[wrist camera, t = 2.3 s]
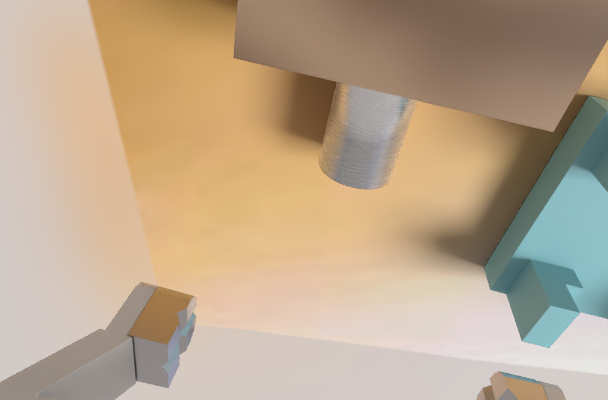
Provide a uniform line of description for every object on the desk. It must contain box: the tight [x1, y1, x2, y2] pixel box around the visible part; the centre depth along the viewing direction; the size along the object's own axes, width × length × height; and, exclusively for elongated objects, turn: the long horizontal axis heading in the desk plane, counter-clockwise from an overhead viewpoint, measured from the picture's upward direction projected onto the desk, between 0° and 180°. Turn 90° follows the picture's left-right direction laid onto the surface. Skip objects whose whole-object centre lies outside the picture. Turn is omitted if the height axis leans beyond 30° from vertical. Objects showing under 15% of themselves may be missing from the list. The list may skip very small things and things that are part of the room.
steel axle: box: [319, 82, 418, 189], centre depth 18 cm, size 14×4×4 cm, turn 170°
